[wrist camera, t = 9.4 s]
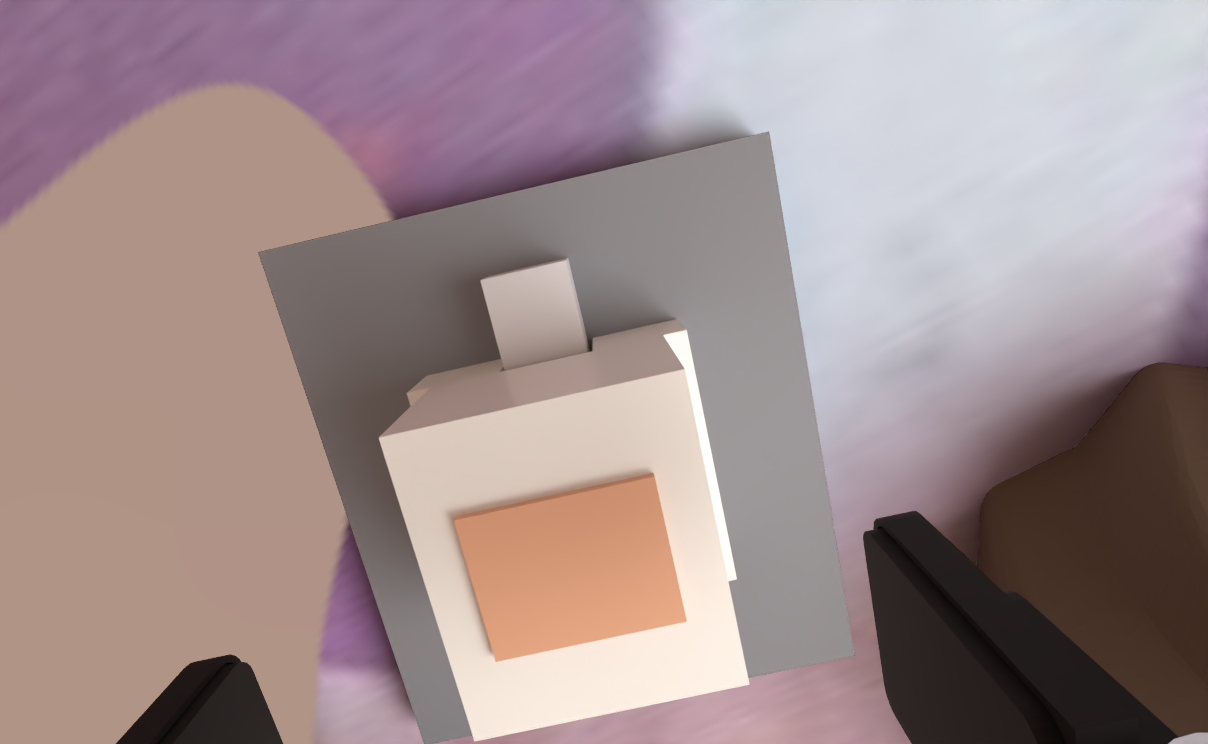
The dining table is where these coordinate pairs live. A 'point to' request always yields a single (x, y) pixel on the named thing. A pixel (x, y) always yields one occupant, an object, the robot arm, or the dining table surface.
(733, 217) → the rail board
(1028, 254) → the dining table surface
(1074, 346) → the dining table surface
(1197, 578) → the decorative dome
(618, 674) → the block
